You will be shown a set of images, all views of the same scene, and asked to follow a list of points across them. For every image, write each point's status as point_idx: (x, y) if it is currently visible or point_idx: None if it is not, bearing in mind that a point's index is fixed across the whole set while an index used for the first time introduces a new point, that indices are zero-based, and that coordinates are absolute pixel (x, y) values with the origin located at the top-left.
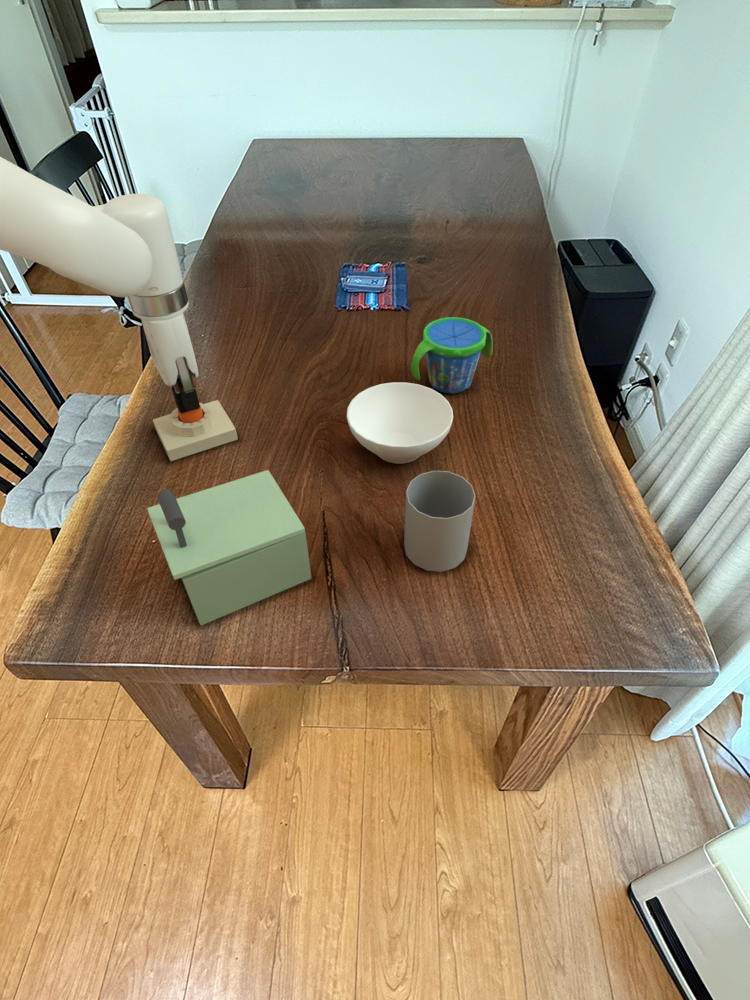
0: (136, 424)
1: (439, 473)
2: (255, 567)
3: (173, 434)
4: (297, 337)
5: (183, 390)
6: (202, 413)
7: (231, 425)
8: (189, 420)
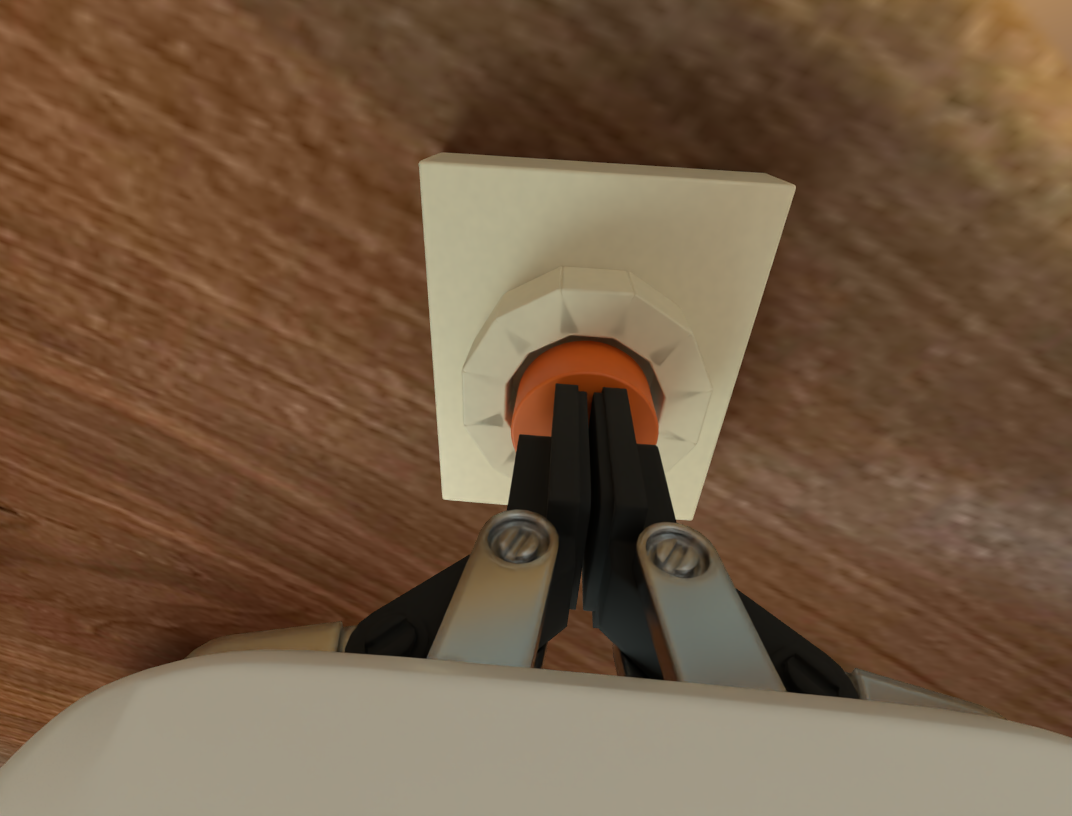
0: (927, 69)
1: None
2: None
3: (556, 252)
4: None
5: (320, 627)
6: None
7: (474, 496)
8: (521, 387)
